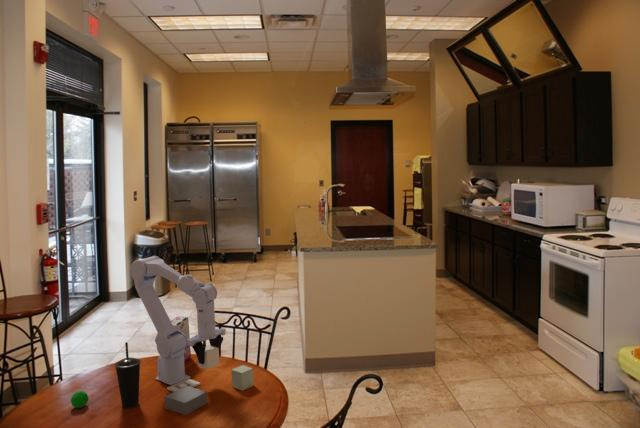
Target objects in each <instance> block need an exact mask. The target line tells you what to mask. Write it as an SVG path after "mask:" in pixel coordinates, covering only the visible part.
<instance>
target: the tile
mask: <svg viewBox="0 0 640 428" xmlns="http://www.w3.org/2000/svg"><path fill="white" fill-rule="evenodd" d="M200 385H201V382H199V381H196V380H195V379H191V378H189V379H186V380H184V381H182V382H179V383H177V384H174V385H170V386H168V387H167V388H166V390H167V391H170V392H171V393H173V392H175V391H177V390H179V389H181V388H183V387H185V386H189V387H193V388H195V387H198V386H200Z"/></svg>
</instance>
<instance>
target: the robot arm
mask: <svg viewBox="0 0 640 428" xmlns="http://www.w3.org/2000/svg"><path fill="white" fill-rule="evenodd" d="M129 274H130V277H132V280H133V282H134V287H135V290H136V292H137V294H138V295H139V298H140V300H141V302H142V304H143V306H144V308H145V310H146V312H147V314H148V316H149V318H150V319H151V322H152V323H153V326H154V328H155V330H156V332H157V334H156V336H155V339H154V342H155V344H156V350H157V353H158V354H159V355H158V357H157V361H156V367H157V377H156V378H155V379H156V380H157V381H160V382H162V383H164V384H166V385H170V386H173V385H175V384H178V383H180V382H182V381H185V380H187V379H191V376H190V375H187V374H186V370H185V369H186V368H185V363H184V352H185V348H186V347H187V344H188V345H189V346H190V347H191V348H192V350H193V351H194V353H195V355H196V358H197V362H198V361H199V363H200V364H204V362H205V348H206V346H207V345H206V344H204V343H203V342H205V341H209V345H211V346H214V347H218V350H219V351H220V348H221V346H222V343H223V341H224V337H223V336H225V335H226V328H223V327H221V328H217V329H216V317H215V316H216V314H215V313H216V312H215V300H216V299H217V297H218V290H217V288H216V287H215V286H214V285H213V284H212V283H207V284H205V282H203V281H200V280H198V279H196V278H195V277H194V276H193V275H192V274H191V273H190V274H184V275H183V274H181V273H180V272H178V271H177V270H176V269H174V268H172V267H171V266H170V265H169V264H167V263H165V261H164V259H162V258H160V257H159V256H157V255H152V256H149V257H145V258H142V259H136V260H134V261H132V263H131V264H130V268H129ZM158 276H161V278H164V279H166V280H168V281H169V282H172V283H174V284H176V285H177V290H179V291H181V292H183V293H184V294H186V295H188V296H189V297H191V298H192V300H193V302H194V303H195V309H196V316H197V318H196V319H197V334H195V335H194V336H192V337H191V338H190V339H188V340H187V337H186V336H185V334H183V333H182V332H181V330H180V328H179V327H176V326H174V325H172V323H171V319H170V317H169V315H168V313H167V311H166V309H165V307H164V305H163V303H162V301H161V299H160V297H159V295H158V293H157V291H156V289H155V287H154V283H155V281H156V279H157V277H158ZM167 336H170V337H168V338H167Z"/></svg>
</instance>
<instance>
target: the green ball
mask: <svg viewBox="0 0 640 428" xmlns="http://www.w3.org/2000/svg"><path fill="white" fill-rule="evenodd" d="M88 402H89V396H88V393H87V392H85V391H83V390H78V391H76V392H75V393H74V394H72V396H71V398H70V403H71V405H72V407H73V408H76V409H82V408H83V407H85V405H87V404H88Z"/></svg>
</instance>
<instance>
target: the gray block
mask: <svg viewBox="0 0 640 428" xmlns="http://www.w3.org/2000/svg"><path fill="white" fill-rule="evenodd" d="M206 404H208V391H207V390H202V389H199V388H195V387H189V386H185V387H183V388H181V389H179V390H177V391H175V392H170V393H169V394H167V395H165V396H164V408H165V409H167V410H169V411H172V412H174V413H175V412H176V413H179V414H181V415H185V416H186V415H189V414H191V413H192V412H194V411H196V410H197V409H199V408H201V407H203V406H205V405H206Z"/></svg>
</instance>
